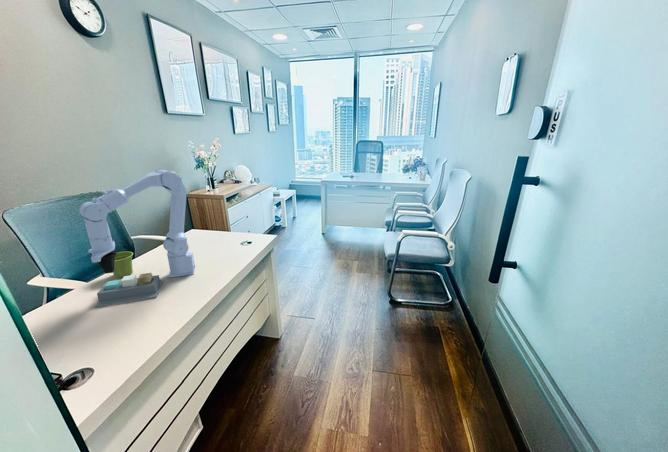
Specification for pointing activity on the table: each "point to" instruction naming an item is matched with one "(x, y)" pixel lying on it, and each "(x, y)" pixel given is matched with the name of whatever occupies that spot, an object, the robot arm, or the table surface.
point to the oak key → (145, 278)
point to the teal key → (113, 284)
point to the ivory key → (129, 281)
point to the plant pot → (123, 264)
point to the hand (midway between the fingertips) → (109, 272)
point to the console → (129, 293)
